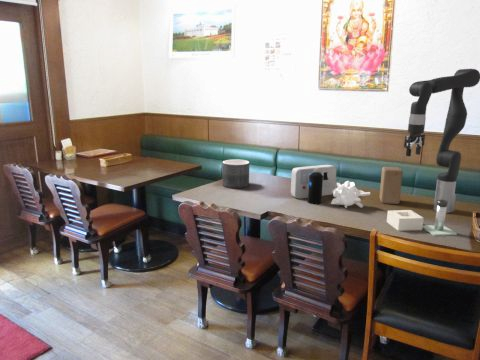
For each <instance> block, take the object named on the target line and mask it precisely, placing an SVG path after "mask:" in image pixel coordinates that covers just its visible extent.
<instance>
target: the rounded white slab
mask: <svg viewBox="0 0 480 360" xmlns="http://www.w3.org/2000/svg"><path fill="white" fill-rule="evenodd" d="M315 168H318V172H319V173H321V174H322V175H323V184H322V197H323V196H332V195H333V193H332V190H333V189H336V185H337V184H336V183H337V167H336V166H334V165H331V164H320V165H309V166H307V165H306V166H299V167H298V166H297V167H294V168H292V170H291V175H290V176H291V177H290V178H291V179H290V182H291V183H290V195H291V196H292V197H294V198H295V199H306V198H307V199H308V190H309V175H310V174H311V173H313V172H315Z"/></svg>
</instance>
